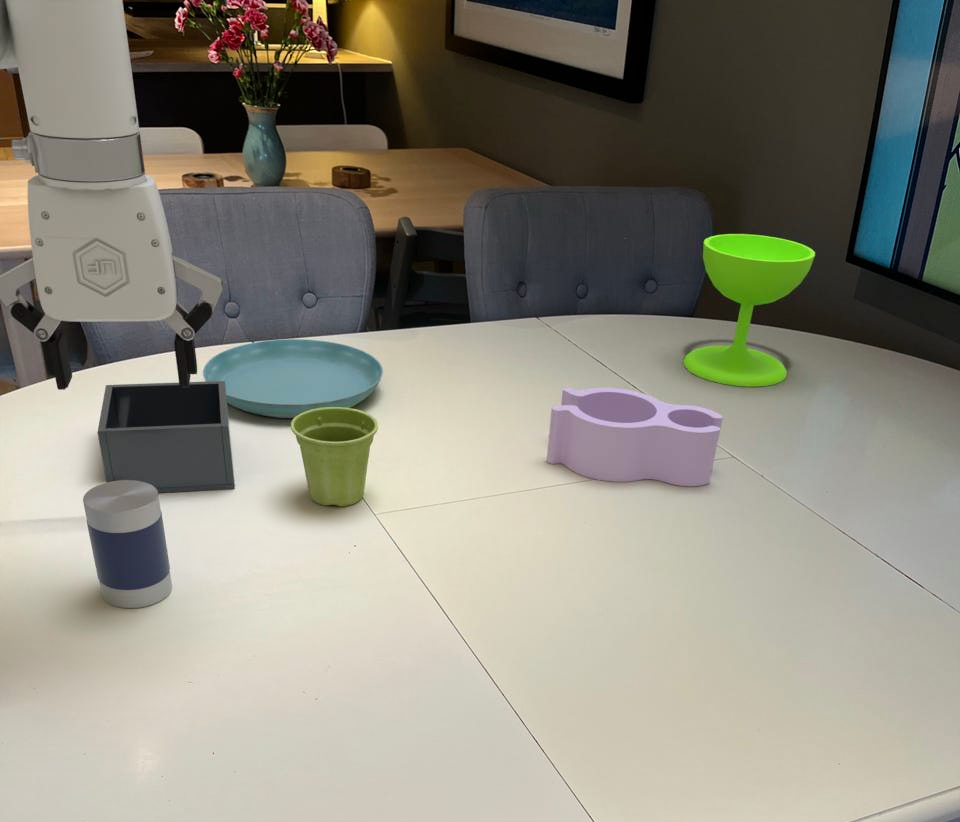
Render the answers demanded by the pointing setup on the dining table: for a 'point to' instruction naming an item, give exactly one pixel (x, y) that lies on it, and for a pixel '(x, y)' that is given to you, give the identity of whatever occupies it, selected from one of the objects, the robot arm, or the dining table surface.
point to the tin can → (128, 543)
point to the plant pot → (335, 452)
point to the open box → (167, 435)
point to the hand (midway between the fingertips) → (126, 382)
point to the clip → (632, 437)
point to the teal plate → (294, 376)
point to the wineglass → (748, 302)
